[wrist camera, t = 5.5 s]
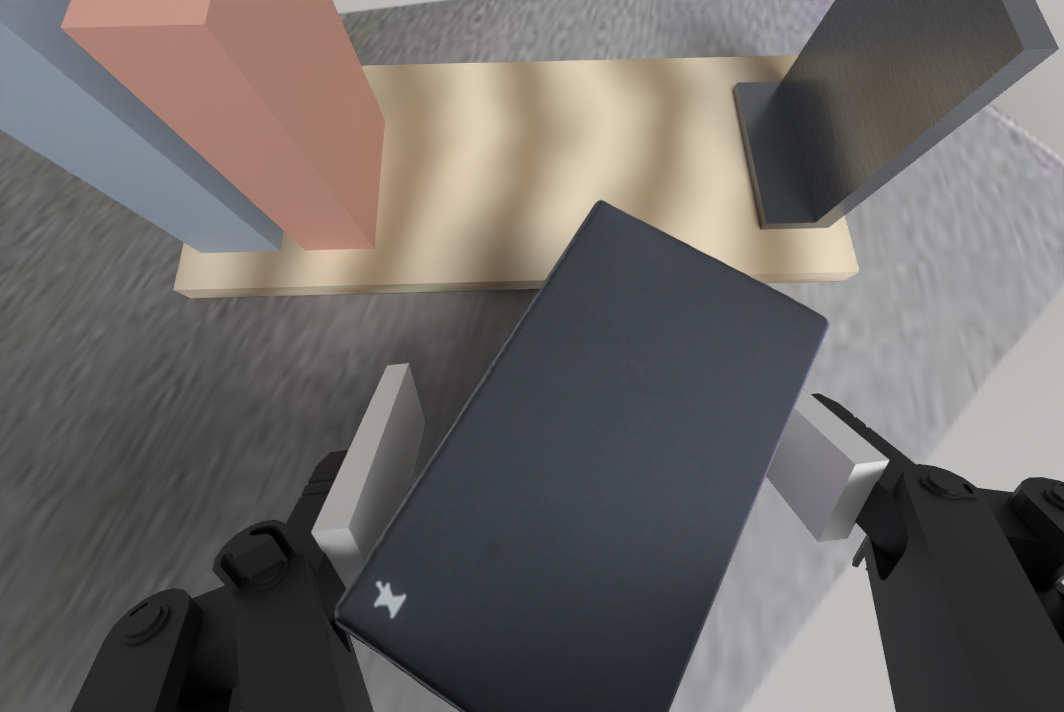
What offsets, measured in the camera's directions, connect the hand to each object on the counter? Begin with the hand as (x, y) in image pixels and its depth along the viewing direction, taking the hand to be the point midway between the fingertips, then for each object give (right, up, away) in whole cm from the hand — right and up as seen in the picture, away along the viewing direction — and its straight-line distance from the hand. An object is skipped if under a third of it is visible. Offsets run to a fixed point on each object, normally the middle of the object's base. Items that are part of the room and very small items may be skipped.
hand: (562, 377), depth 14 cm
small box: (0, -4, +4) cm, 5 cm away
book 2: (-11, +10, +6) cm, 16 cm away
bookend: (+12, +12, +7) cm, 18 cm away
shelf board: (-2, +11, +8) cm, 13 cm away
